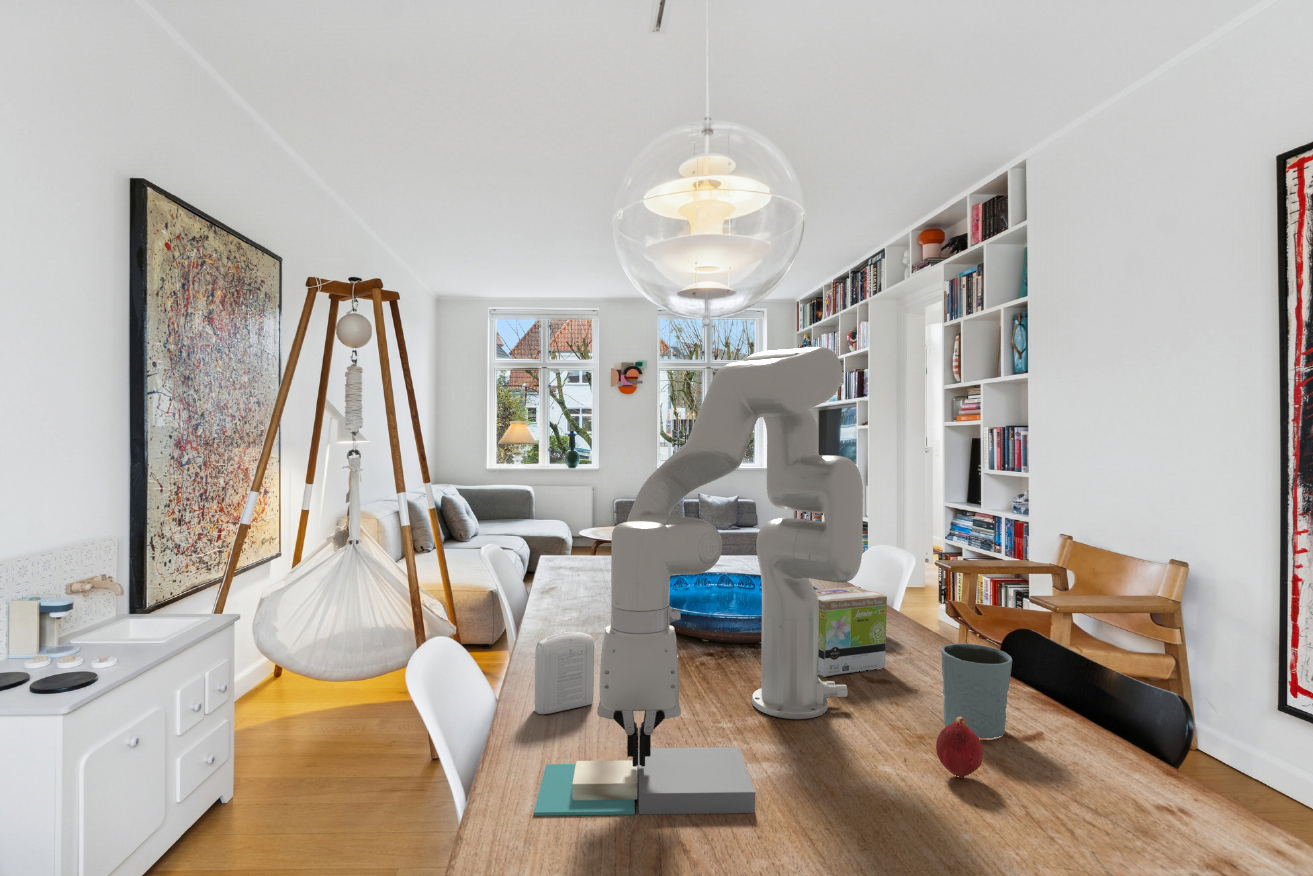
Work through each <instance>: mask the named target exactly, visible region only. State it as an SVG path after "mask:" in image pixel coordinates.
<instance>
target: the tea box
mask: <svg viewBox="0 0 1313 876" xmlns="http://www.w3.org/2000/svg"><path fill="white" fill-rule="evenodd" d="M858 587H859V586H858ZM858 587H856V586H847V587H831V588H820V589H815V592H816V594H817V598H818V602H819V669H818V676H820V677H823V678H826V677H829V676H830V677H831V676H836V675H842V674H843V675H844V674H849V673H857V672H859V671H860V672H867V671H866V670H868V671H875V670H874V669H877V670H880V669H879V668H884V669H885V668H886V647H887V646H886V645H887V616H888V615H887V612H888V611H887V608H888V607H887V606H888V603H887V601H888V597H887V596H886V595H884V594H882V595H880V594H881V593H880V594H877V593H878V592H877V593H874V592H875V591H872V592H871V590H867V589H865V588H858Z"/></svg>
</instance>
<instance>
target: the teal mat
mask: <svg viewBox="0 0 1313 876" xmlns="http://www.w3.org/2000/svg"><path fill="white" fill-rule="evenodd" d="M575 766H576V763H555V764H554V763H552V764H551V763H547V764H545V768H544V770H543V775H542V780H541V783H540V787H539V791H538V795H537V799H536V803H535V807H534V811H533V816H537V817H538V816H539V817H541V816H543V817H544V816H545V817H546V816H550V817H551V816H552V817H553V816H603V815H604V816H607V815H608V816H609V815H612V816H615V815H616V816H617V815H618V816H619V815H622V816H623V815H627V816H628V815H635V814H636V811H635V810H636V808H635V807H636V806H635V805H636V804H635V801H636V799H633V800H572V784H573V778H574V772H575Z"/></svg>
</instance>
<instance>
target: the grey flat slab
mask: <svg viewBox="0 0 1313 876" xmlns="http://www.w3.org/2000/svg"><path fill="white" fill-rule="evenodd" d="M637 800H638V815H691V814H692V815H694V814H695V815H696V814H697V815H698V814H753V813H754V814H756V790H755V788H754V785H753V781H752V779H751V776H750V773H749V771H748V768H747V765H746V761H745V758H744V756H743V753H742V751H741V748H740V747H738V746H729V747H728V746H725V747H723V746H721V747H719V746H717V747H715V746H714V747H712V746H711V747H706V746H705V747H703V746H702V747H651V755H650V757H645V766H641V765H639V747H638V765H637Z"/></svg>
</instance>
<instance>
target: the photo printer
mask: <svg viewBox="0 0 1313 876" xmlns="http://www.w3.org/2000/svg"><path fill="white" fill-rule="evenodd" d="M534 658H535V661H534V663H535V665H534V666H535V667H534V712H535V713H536V714H538V715H546V714H547V715H549V714H554V713H558V712H563V711H567V710H572V709H576V708H582V707H586V706H590V705H592V704H593V703H594V693H595V692H594V685H595V684H594V683H595V682H594V681H595V680H594V679H595V642H594V639H593V636H592V635H591V634H588V633H585V632H581V631H565V632H560V633H559V632H558V633H556V634H552V635H550V636H547V637H545V638H543V639H542V640H540V641H538V642H537V643H536V646H535V657H534Z"/></svg>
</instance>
